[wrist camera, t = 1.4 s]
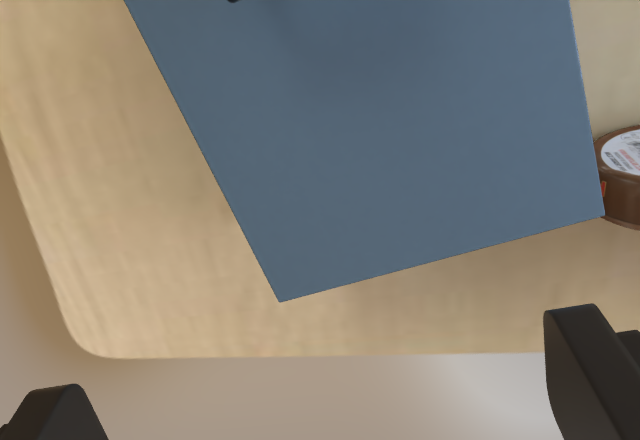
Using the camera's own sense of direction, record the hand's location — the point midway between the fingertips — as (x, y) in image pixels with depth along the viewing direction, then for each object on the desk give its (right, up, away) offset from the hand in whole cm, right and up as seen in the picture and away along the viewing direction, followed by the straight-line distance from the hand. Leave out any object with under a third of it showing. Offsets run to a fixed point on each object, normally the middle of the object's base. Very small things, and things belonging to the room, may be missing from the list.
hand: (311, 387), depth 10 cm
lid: (+2, +8, +13) cm, 16 cm away
